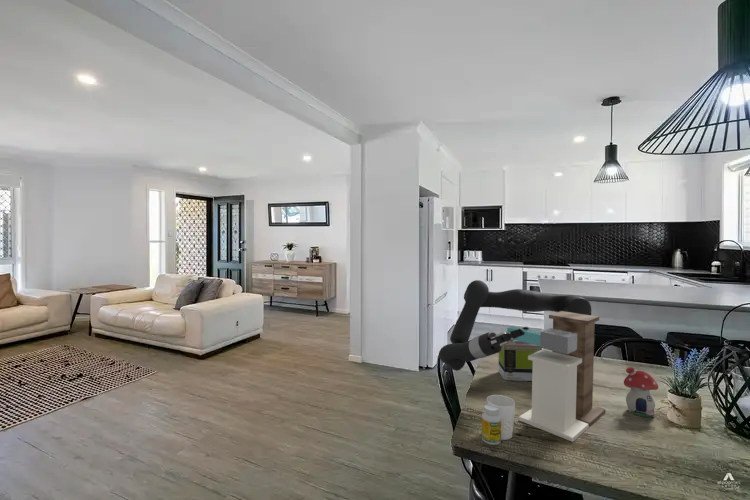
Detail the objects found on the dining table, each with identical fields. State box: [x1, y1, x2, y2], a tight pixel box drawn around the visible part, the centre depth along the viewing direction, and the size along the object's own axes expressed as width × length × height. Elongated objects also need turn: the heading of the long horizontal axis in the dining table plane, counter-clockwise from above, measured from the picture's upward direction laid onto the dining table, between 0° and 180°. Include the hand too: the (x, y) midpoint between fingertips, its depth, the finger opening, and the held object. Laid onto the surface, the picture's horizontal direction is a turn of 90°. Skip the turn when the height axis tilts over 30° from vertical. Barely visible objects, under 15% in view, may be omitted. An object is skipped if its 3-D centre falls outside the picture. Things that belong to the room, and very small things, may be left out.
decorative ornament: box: [623, 366, 659, 419], centre depth 121 cm, size 9×6×15 cm
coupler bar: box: [506, 325, 577, 354], centre depth 116 cm, size 20×7×5 cm, turn 41°
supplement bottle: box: [481, 403, 502, 446], centre depth 104 cm, size 5×5×10 cm
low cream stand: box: [518, 349, 589, 443], centre depth 113 cm, size 16×12×21 cm
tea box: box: [498, 340, 543, 382], centre depth 152 cm, size 15×10×15 cm, turn 84°
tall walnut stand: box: [548, 311, 606, 427], centre depth 122 cm, size 16×14×32 cm
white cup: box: [486, 394, 516, 441], centre depth 107 cm, size 8×8×10 cm
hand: (525, 330), depth 120 cm, fingers closed on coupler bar, 3 cm apart
